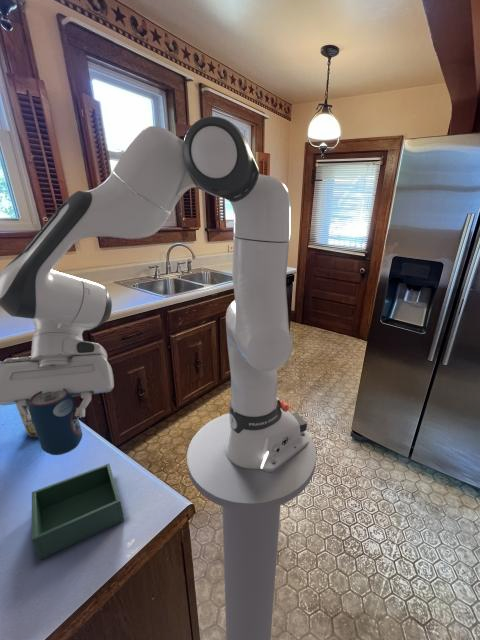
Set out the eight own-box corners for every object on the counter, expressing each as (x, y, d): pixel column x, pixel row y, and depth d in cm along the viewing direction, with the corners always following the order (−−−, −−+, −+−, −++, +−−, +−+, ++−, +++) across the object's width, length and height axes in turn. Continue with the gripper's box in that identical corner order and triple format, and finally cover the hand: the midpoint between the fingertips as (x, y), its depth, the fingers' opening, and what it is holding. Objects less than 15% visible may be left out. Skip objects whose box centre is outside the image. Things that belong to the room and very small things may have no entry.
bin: (113, 480, 68) (109, 463, 66) (124, 520, 60) (120, 501, 58) (38, 510, 61) (31, 492, 59) (39, 560, 53) (31, 540, 51)
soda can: (89, 444, 64) (76, 395, 59) (49, 463, 59) (32, 411, 54) (76, 429, 68) (63, 381, 63) (38, 445, 63) (21, 395, 58)
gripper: (-13, 353, 59) (-22, 428, 54) (108, 343, 65) (109, 409, 60) (5, 364, 64) (-2, 432, 60) (115, 353, 71) (116, 414, 66)
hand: (55, 420), depth 60 cm, fingers closed on soda can, 7 cm apart
